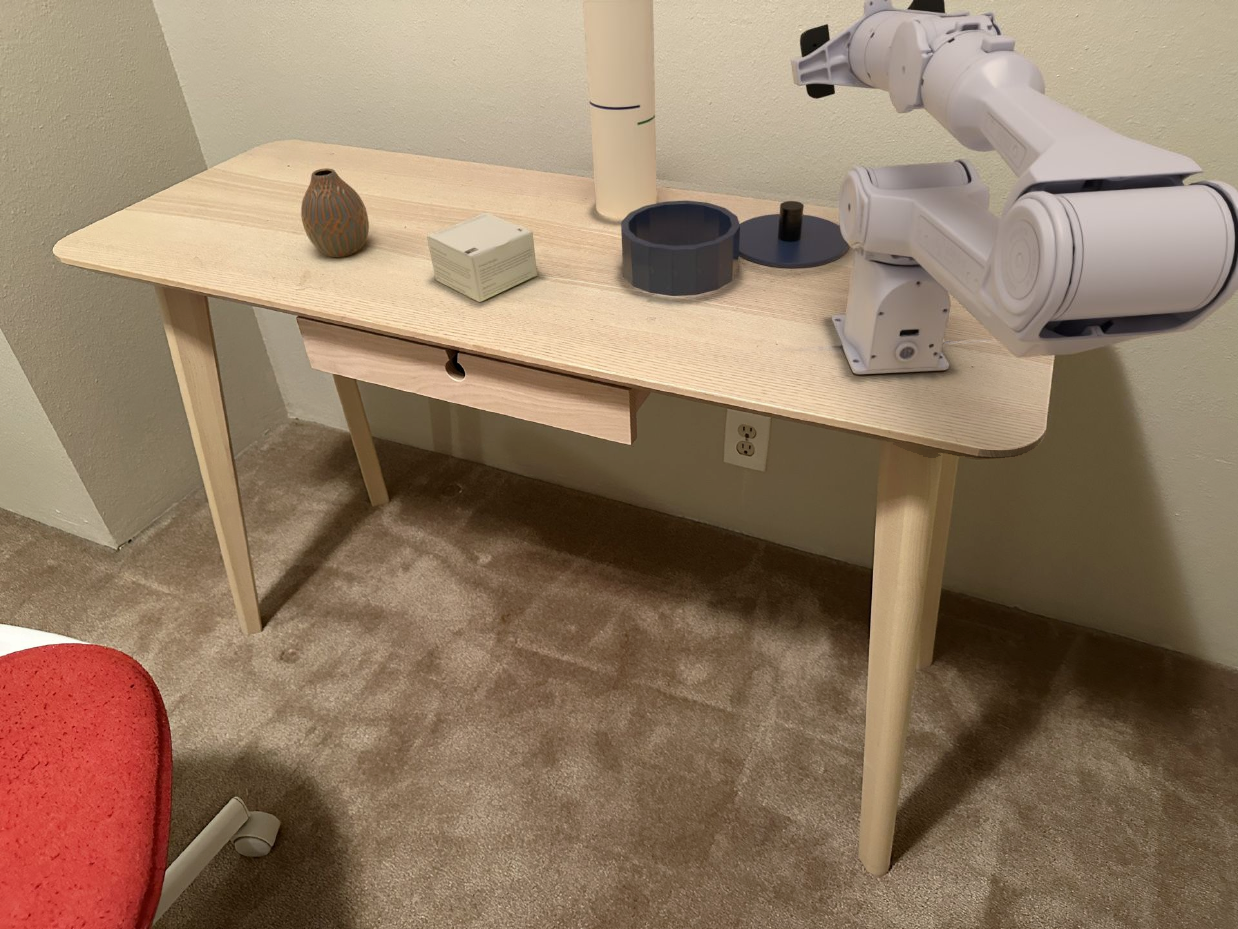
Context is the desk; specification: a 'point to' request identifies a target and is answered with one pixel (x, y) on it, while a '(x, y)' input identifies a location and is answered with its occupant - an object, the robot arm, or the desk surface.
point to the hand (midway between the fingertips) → (851, 41)
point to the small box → (482, 256)
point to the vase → (334, 215)
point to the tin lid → (791, 239)
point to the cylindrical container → (621, 103)
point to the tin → (680, 247)
